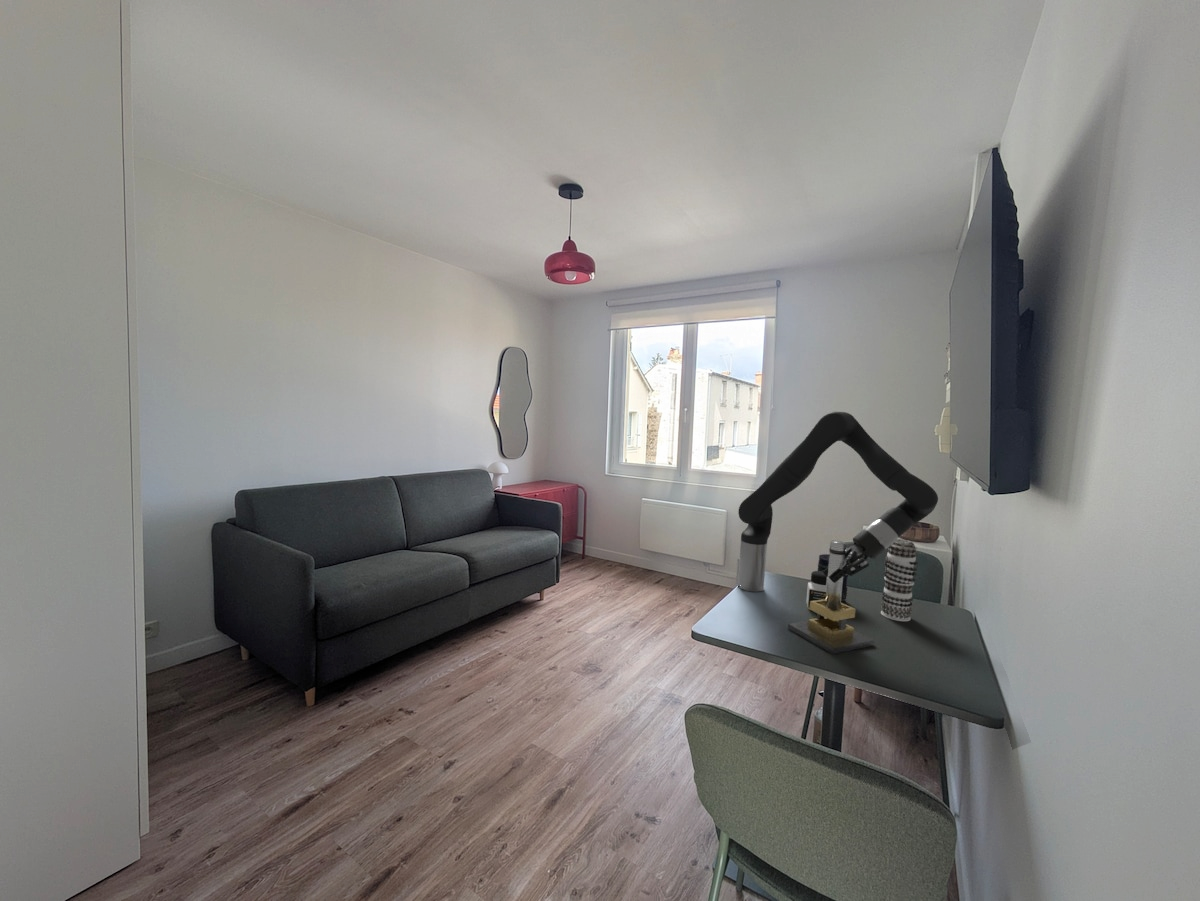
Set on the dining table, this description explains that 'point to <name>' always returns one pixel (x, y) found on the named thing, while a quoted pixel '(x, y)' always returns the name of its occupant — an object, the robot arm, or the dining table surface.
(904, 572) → the decorative candle
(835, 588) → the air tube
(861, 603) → the dining table surface
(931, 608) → the dining table surface
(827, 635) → the collar stand
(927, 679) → the dining table surface
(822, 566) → the storage jar
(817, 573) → the medicine bottle
